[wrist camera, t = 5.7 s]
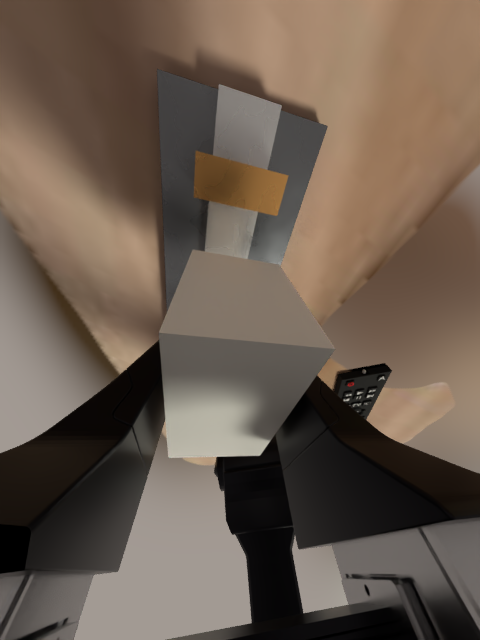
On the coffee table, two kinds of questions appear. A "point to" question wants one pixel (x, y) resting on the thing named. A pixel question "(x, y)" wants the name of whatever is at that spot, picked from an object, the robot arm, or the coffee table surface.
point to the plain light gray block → (235, 356)
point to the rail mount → (229, 173)
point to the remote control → (362, 387)
